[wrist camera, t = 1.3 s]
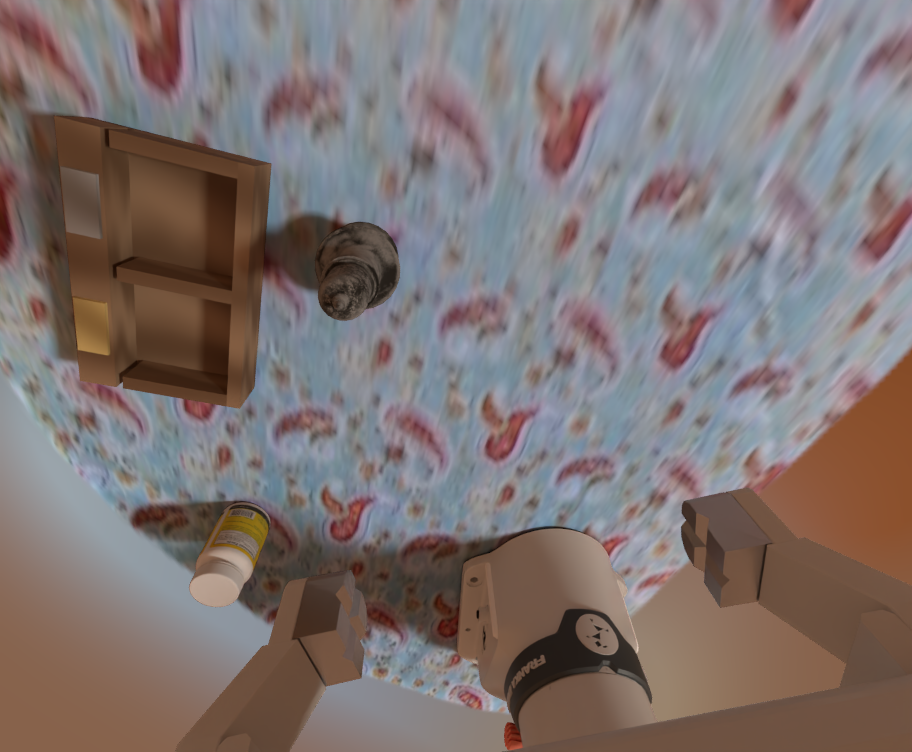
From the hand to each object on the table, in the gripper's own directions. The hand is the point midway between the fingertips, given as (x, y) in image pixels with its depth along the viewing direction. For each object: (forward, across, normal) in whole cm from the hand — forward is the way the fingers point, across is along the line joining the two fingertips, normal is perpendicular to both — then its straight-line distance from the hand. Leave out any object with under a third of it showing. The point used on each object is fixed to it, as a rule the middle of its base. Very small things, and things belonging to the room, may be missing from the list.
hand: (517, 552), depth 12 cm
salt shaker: (+29, +6, -1) cm, 30 cm away
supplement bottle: (+29, +25, +21) cm, 43 cm away
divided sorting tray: (+29, +20, -4) cm, 35 cm away
